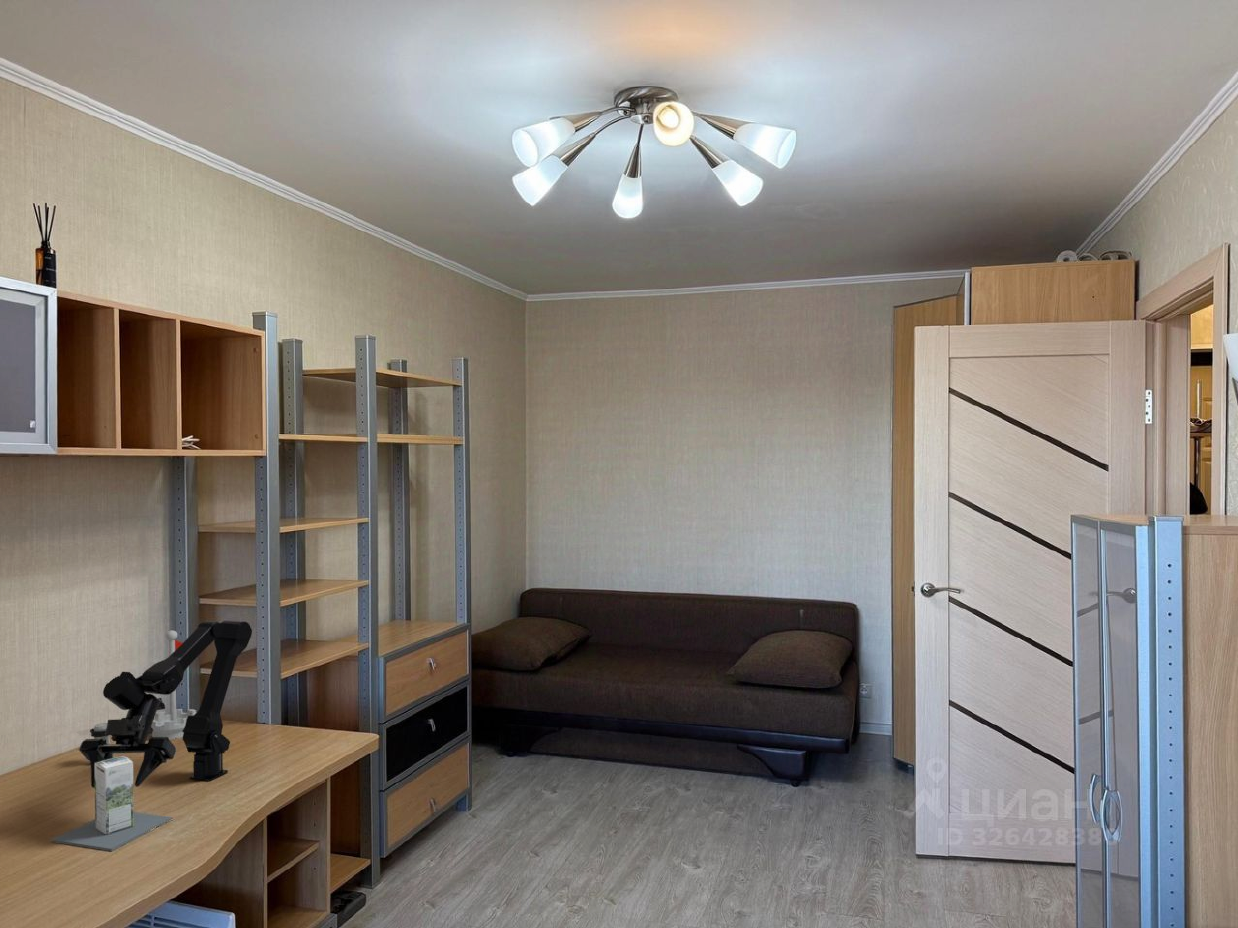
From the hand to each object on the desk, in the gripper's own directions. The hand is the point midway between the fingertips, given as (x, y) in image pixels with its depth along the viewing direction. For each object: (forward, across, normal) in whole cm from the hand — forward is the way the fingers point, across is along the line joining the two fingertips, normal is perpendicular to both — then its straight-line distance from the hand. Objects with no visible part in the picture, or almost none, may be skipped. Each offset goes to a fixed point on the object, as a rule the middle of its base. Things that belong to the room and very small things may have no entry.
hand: (114, 786), depth 190 cm
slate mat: (+7, 0, +6) cm, 9 cm away
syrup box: (+7, 0, +6) cm, 9 cm away
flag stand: (-40, -18, +54) cm, 69 cm away
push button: (-23, -26, +37) cm, 51 cm away
